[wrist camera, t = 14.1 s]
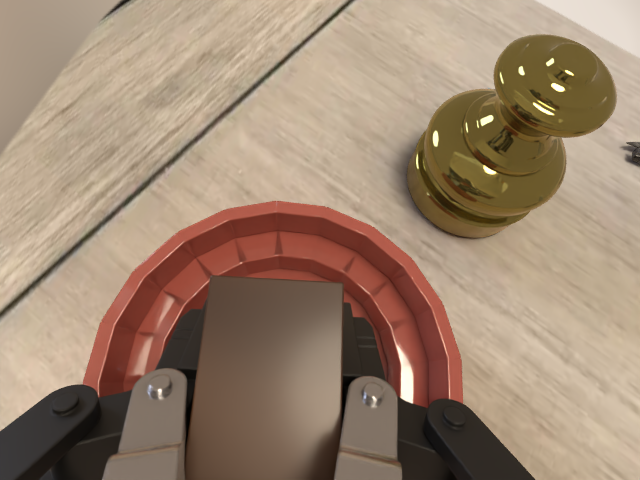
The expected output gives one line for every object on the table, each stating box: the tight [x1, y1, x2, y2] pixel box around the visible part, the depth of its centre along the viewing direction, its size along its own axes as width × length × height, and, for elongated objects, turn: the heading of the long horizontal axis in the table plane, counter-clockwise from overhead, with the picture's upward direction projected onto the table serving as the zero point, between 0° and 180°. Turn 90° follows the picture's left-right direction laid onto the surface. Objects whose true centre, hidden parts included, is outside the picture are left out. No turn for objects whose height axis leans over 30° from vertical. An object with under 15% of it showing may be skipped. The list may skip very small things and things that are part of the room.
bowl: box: [83, 201, 463, 408], centre depth 17 cm, size 14×14×5 cm
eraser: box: [184, 275, 344, 480], centre depth 14 cm, size 5×4×10 cm
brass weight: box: [407, 34, 617, 238], centre depth 19 cm, size 7×7×10 cm
